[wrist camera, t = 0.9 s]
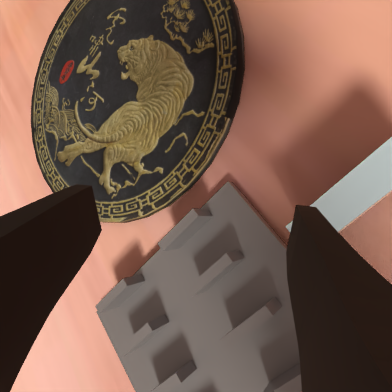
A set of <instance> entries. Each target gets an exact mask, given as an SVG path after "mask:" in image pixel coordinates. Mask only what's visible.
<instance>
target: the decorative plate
mask: <svg viewBox="0 0 392 392" xmlns="http://www.w3.org/2000/svg"><path fill="white" fill-rule="evenodd" d="M244 71H245V61H244V35H243V31H242V26H241V22H240V18H239V13H238V9H237V6H236V4H235V2H234V0H70V1H69V3H68V4H67V6H66V7H65V9H64V10H63V12H62V13H61V15H60V16H59V18H58V20H57V22H56V24H55V26H54V28H53V30H52V32H51V34H50V35H49V38H48V40H47V43H46V45H45V48H44V51H43V53H42V56H41V59H40V62H39V66H38V70H37V73H36V77H35V82H34V88H33V95H32V105H31V128H32V140H33V145H34V150H35V154H36V158H37V162H38V164H39V167H40V169H41V172H42V174H43V177H44V179H45V180H46V182H47V184H48V185H49V187H50V188H51V190H52V192H53V193H55V192H58V191H60V190H62V189H65V188H67V187H70V186H73V185H76V184H79V185H89V186H92V188H93V193H94V197H95V202H96V207H97V211H98V216H99V220H100V222H115V223H127V222H131V221H135V220H139V219H142V218H146V217H149V216H151V215H153V214H155V213H157V212H159V211H161V210H162V209H164V208H166V207H168V206H170V205H171V204H172V203H174V202H175V201H176V200H177V199H179V198H180V197H181V196H182V195H183V194H185V193H186V192H187V191H188V190H189V189H191V188H192V187H193V185H194V184H195V183H196V182H197V181H198V179H199V178H200V177H201V176H202V174H203V173H204V172H205V171H206V170H207V168H208V167H209V166H210V165H211V164H212V162H213V160H214V158H215V156H216V155H217V153H218V151H219V149H220V148H221V146H222V144H223V142H224V140H225V139H226V137H227V135H228V133H229V130H230V127H231V124H232V121H233V118H234V116H235V113H236V110H237V107H238V104H239V100H240V94H241V88H242V82H243V77H244Z"/></svg>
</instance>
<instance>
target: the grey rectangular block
mask: <svg viewBox="0 0 392 392" xmlns="http://www.w3.org/2000/svg"><path fill="white" fill-rule="evenodd" d="M391 192H392V137H391V138H390V139H388V140H387V141H386V142H385V143H384V144H382V145H381V146H380V147H379V148H378V149H377V150H375V151H374V152H373V153H372V154H371V155H369V156H368V157H367V158H366V159H365V160H363V161H362V162H361V163H360V164H359V165H358V166H356V167H355V168H354V169H353V170H352V171H350V172H349V173H348V174H347V175H346V176H345V177H343V178H342V179H341V180H340V181H339V182H337V183H336V184H335V185H334V186H333V187H332V188H330V189H329V190H328V191H327V192H326V193H324V194H323V195H322V196H321V197H320V198H319V199H317V200H316V201H315V202H314V203H313V204H311V205H310V206H312V207H316V208H317V209H318V210H319V211H320V212H321V213H322V214H323V216H324V217H325V218H326V219H327V220H328V221H329V222H330V224H331V225H332V226H333V227H334V228H335V229H336V230H337V232H338V233H340V232H341V231H342V230H344V229H345V228H346V227H347V226H349V225H350V224H351V223H353V222H354V221H355V220H356V219H358V218H359V217H360V216H362V215H363V214H364V213H365V212H367V211H368V210H369V209H371V208H372V207H373V206H374V205H376V204H377V203H378V202H380V201H381V200H382V199H383V198H385V197H386V196H387V195H389V194H390V193H391ZM292 223H293V221H291V222H290V223H289V224H288V225H287V226H285V227H286V228H287V229H288V230H289V232H291V227H292Z"/></svg>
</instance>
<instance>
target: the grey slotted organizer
mask: <svg viewBox="0 0 392 392" xmlns="http://www.w3.org/2000/svg"><path fill="white" fill-rule="evenodd" d="M158 245H159V247H160V249H159V250H158V251H157V252H156V253H155V254H154V255H153V256H152V257H151V258H150V259H149V260H148V261H147V262H146V263H145V264H144V265H143V266H142V267H141V268H140V269H139V270H138V271H137V272H136V273H135V274H134V275H133V276H131V277H127V278H123V279H122V280H121V281H120V282H119V283H118V284H117V285H116V286H115V287H114V288H113V289H112V290H111V291H110V292H109V293H108V294H107V295H106V296H105V297H104V298H103V299H102V300H101V301H100V302H99V303H98V304H97V305H96V308H97V310H98V311H97V314H98V316H99V318H100V320H101V322H102V324H103V326H104V328H105V330H106V332H107V334H108V336H109V338H110V340H111V342H112V344H113V347H114V349H115V351H116V353H117V355H118V357H119V359H120V361H121V363H122V365H123V367H124V369H125V371H126V373H127V375H128V377H129V379H130V381H131V383H132V385H133V387H134V389H135V391H136V392H301V391H302V385H301V371H300V357H299V349H298V341H297V336H296V330H295V324H294V318H293V312H292V306H291V300H290V294H289V287H288V281H287V262H286V251H287V246H286V245H285V243H284V242H283V241H282V240H281V239H280V238H279V236H278V235H277V234H276V233H275V232H274V230H273V229H272V228H271V227H270V226H269V225H268V223H267V222H266V221H265V220H264V219H263V218H262V216H261V215H260V214H259V213H258V212H257V211H256V209H255V208H254V207H253V206H252V205H251V204H250V202H249V201H248V200H247V199H246V198H245V197H244V195H243V194H242V193H241V192H240V191H239V189H238V188H237V187H236V186H235V185H234V184H233V182H229V181H228V182H227V183H226V184H225V185H224V186H223V187H222V188H221V189H220V190H219V191H218V192H217V193H216V194H215V195H214V196H213V197H212V198H211V199H210V200H209V201H208V202H206V203H205V204H204V205H203V206H202V207H201V208H200V209H196V208H193V209H192V210H191V211H190V212H189V213H188V214H187V215H186V216H185V217H184V218H183V219H182V220H181V221H180V222H179V223H178V224H177V225H176V226H175V227H174V228H173V229H172V230H171V231H170V232H169V233H168V234H167V235H166V236H165V237H164V238H163V239H162V240H161V241H160V242H159V243H158Z"/></svg>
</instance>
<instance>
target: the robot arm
mask: <svg viewBox="0 0 392 392" xmlns="http://www.w3.org/2000/svg"><path fill="white" fill-rule="evenodd" d="M101 231H102V229H101V225H100V220H99V216H98V211H97V207H96V202H95V197H94V193H93V188H92V186H89V185H79V184H76V185H73V186H70V187H67V188H65V189H62V190H60V191H58V192H55V193H53V194H51V195H48V196H46V197H44V198H42V199H39V200H37V201H35V202H33V203H31V204H28V205H26V206H24V207H22V208H19V209H17V210H15V211H12V212H10V213H7V214H5V215H3V216H0V392H10V390H11V388H12V386H13V384H14V382H15V379H16V377H17V375H18V373H19V371H20V369H21V367H22V365H23V363H24V361H25V359H26V357H27V355H28V353H29V351H30V349H31V347H32V345H33V343H34V341H35V340H36V338H37V336H38V334H39V332H40V330H41V329H42V327H43V325H44V323H45V321H46V319H47V318H48V316H49V314H50V313H51V311H52V309H53V308H54V306H55V305H56V303H57V302H58V300H59V299H60V297H61V296H62V294H63V293H64V291H65V290H66V288H67V287H68V286H69V284H70V283H71V281H72V280H73V278H74V277H75V275H76V274H77V273H78V271H79V270H80V268H81V267H82V265H83V264H84V262H85V261H86V259H87V258H88V256H89V255H90V253H91V251H92V249H93V247H94V245H95V243H96V241H97V239H98V237H99V235H100V233H101ZM286 262H287V281H288V287H289V294H290V300H291V306H292V312H293V318H294V324H295V330H296V336H297V341H298V349H299V357H300V371H301V385H302V392H392V284H390V283H389V282H388V281H387V280H386V279H385V278H384V277H382V276H381V275H380V274H379V273H378V272H377V271H376V270H375V269H374V268H373V267H372V266H371V265H370V264H368V263H367V262H366V261H365V260H364V259H363V258H362V257H361V256H360V255H359V254H358V253H357V252H356V251H355V250H354V249H353V248H352V247H351V246H350V245H349V244H348V242H347V241H346V240H345V239H344V238H343V237H342V236H341V235H340V234H339V233H338V232H337V230H336V229H335V228H334V227H333V226H332V225H331V224H330V222H329V221H328V220H327V219H326V218H325V217H324V216H323V214H322V213H321V212H320V211H319V210H318V209H317V208H316V207H312V206H301V205H296V208H295V213H294V218H293V223H292V227H291V232H290V237H289V241H288V246H287V251H286Z"/></svg>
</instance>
